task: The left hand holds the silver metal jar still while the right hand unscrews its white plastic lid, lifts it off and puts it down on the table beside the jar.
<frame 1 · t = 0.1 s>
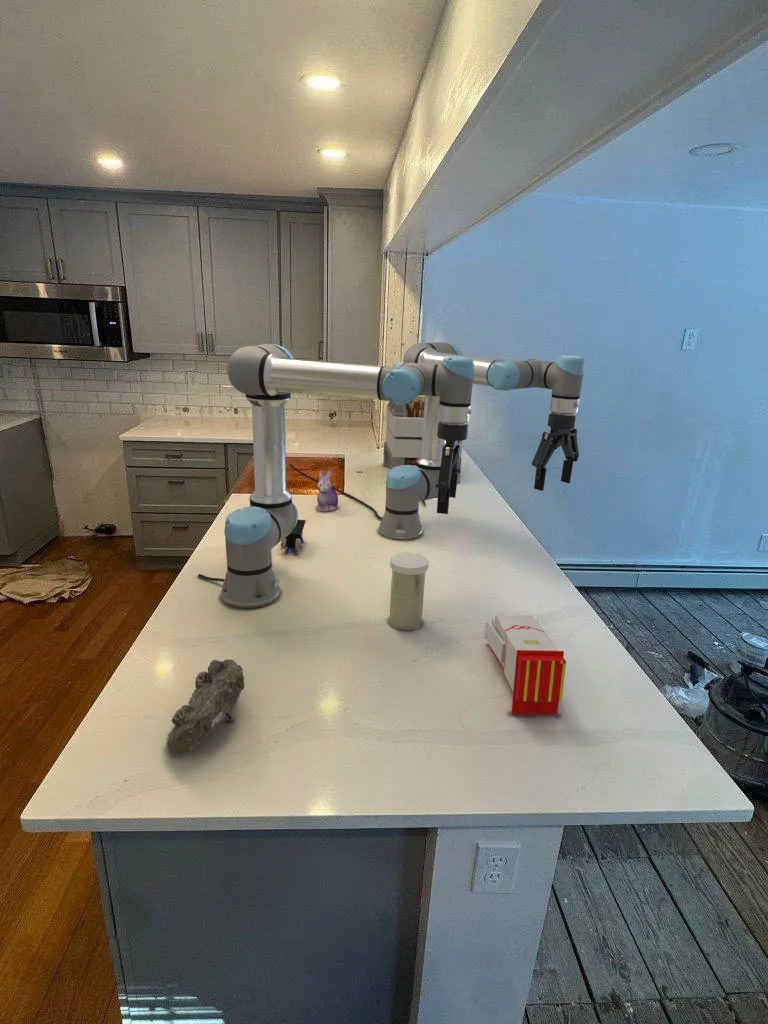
left hand: (446, 504, 145), 28 cm above the counter, tool pointing down, fingers open, 13 cm apart
right hand: (552, 485, 166), 28 cm above the counter, tool pointing down, fingers open, 13 cm apart
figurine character: (293, 547, 185), on the counter
fossil: (212, 717, 108), on the counter
figurine: (327, 508, 222), on the counter
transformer: (419, 473, 275), on the counter
feather: (423, 496, 241), on the counter
toy: (516, 673, 125), on the counter
lid: (409, 561, 138), point 17 cm above the counter, screwed on, not yet turned
jar: (405, 621, 144), on the counter
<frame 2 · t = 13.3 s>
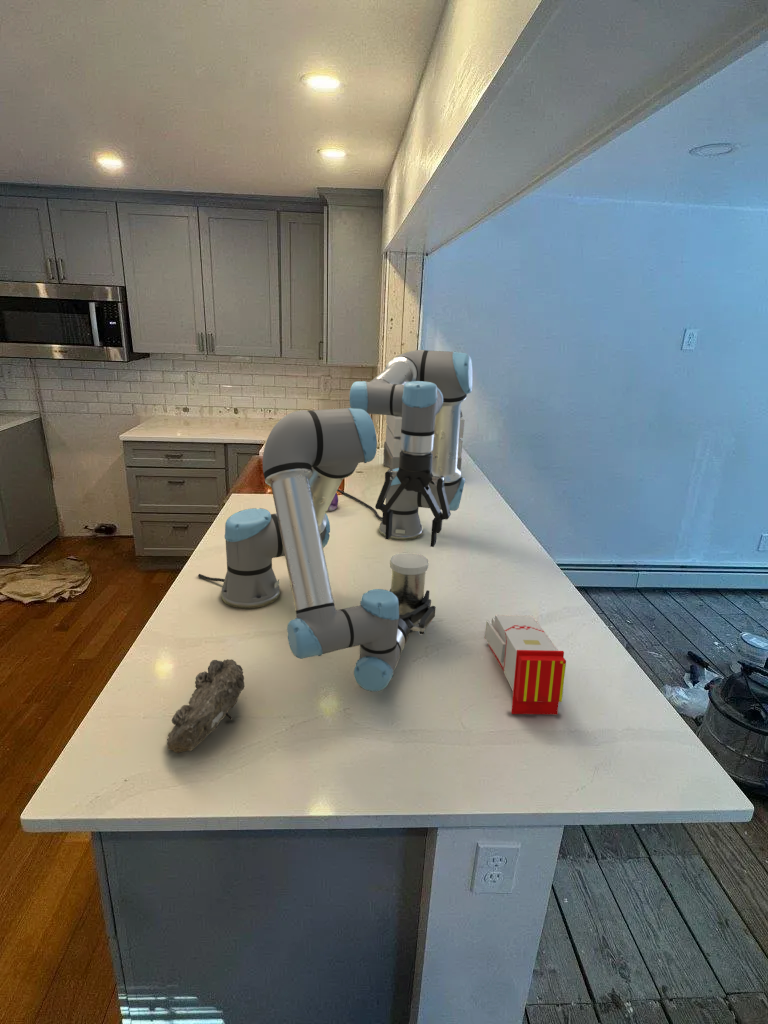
left hand: (410, 592, 146), 6 cm above the counter, tool horizontal, fingers closed on jar, 8 cm apart
right hand: (410, 541, 136), 22 cm above the counter, tool pointing down, fingers open, 10 cm apart
jar: (405, 621, 144), on the counter, touching left hand
everything else where it was.
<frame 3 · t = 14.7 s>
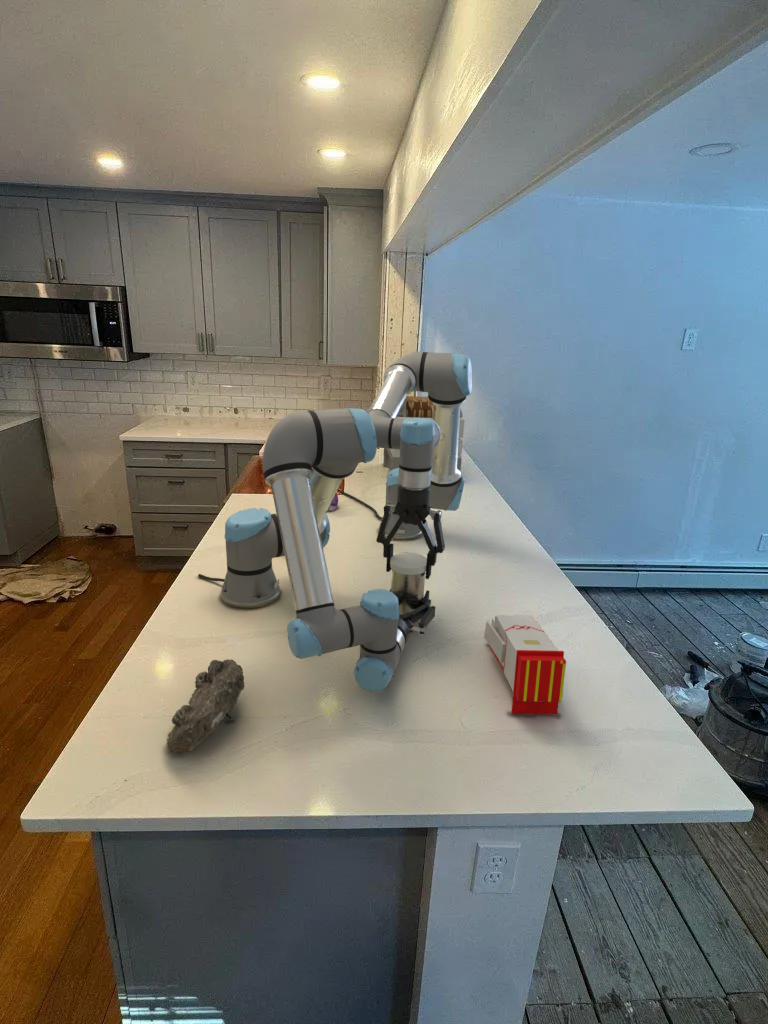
left hand: (410, 592, 146), 6 cm above the counter, tool horizontal, fingers closed on jar, 8 cm apart
right hand: (408, 573, 139), 14 cm above the counter, tool pointing down, fingers closed on lid, 9 cm apart
lid: (409, 561, 138), point 17 cm above the counter, screwed on, not yet turned, touching right hand
jar: (405, 621, 144), on the counter, touching left hand
everything else where it was.
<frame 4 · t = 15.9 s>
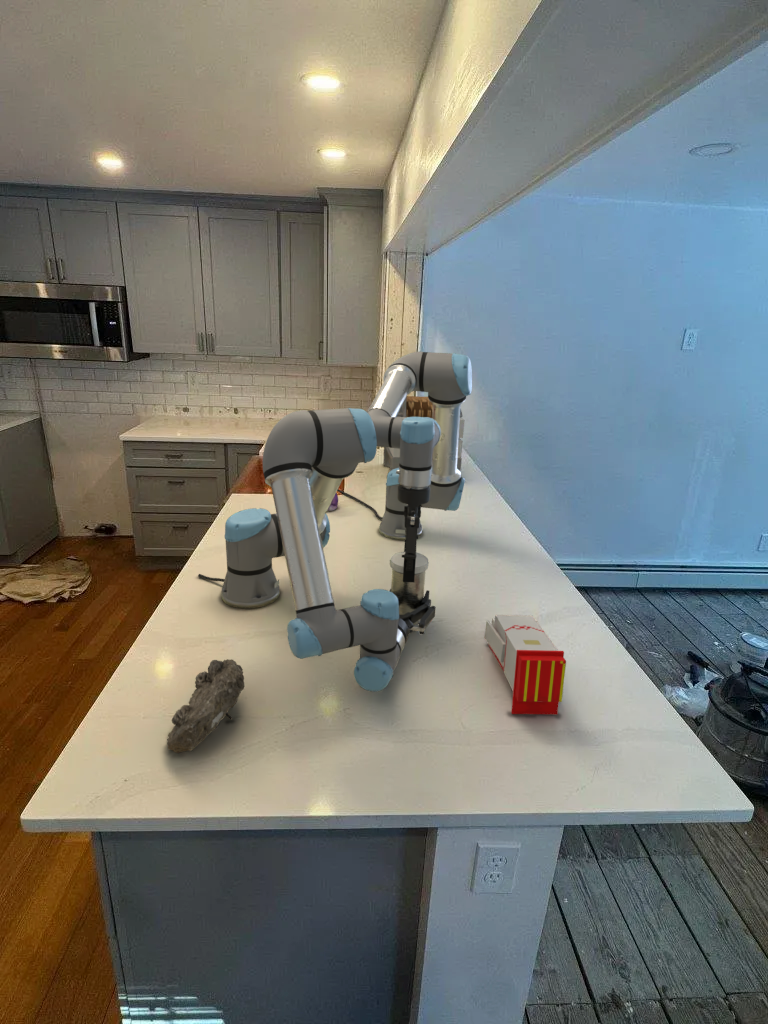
left hand: (410, 592, 146), 6 cm above the counter, tool horizontal, fingers closed on jar, 8 cm apart
right hand: (408, 572, 139), 14 cm above the counter, tool pointing down, fingers closed on lid, 9 cm apart
lid: (409, 560, 138), point 17 cm above the counter, off its thread, touching right hand
jar: (405, 621, 144), on the counter, touching left hand
everything else where it was.
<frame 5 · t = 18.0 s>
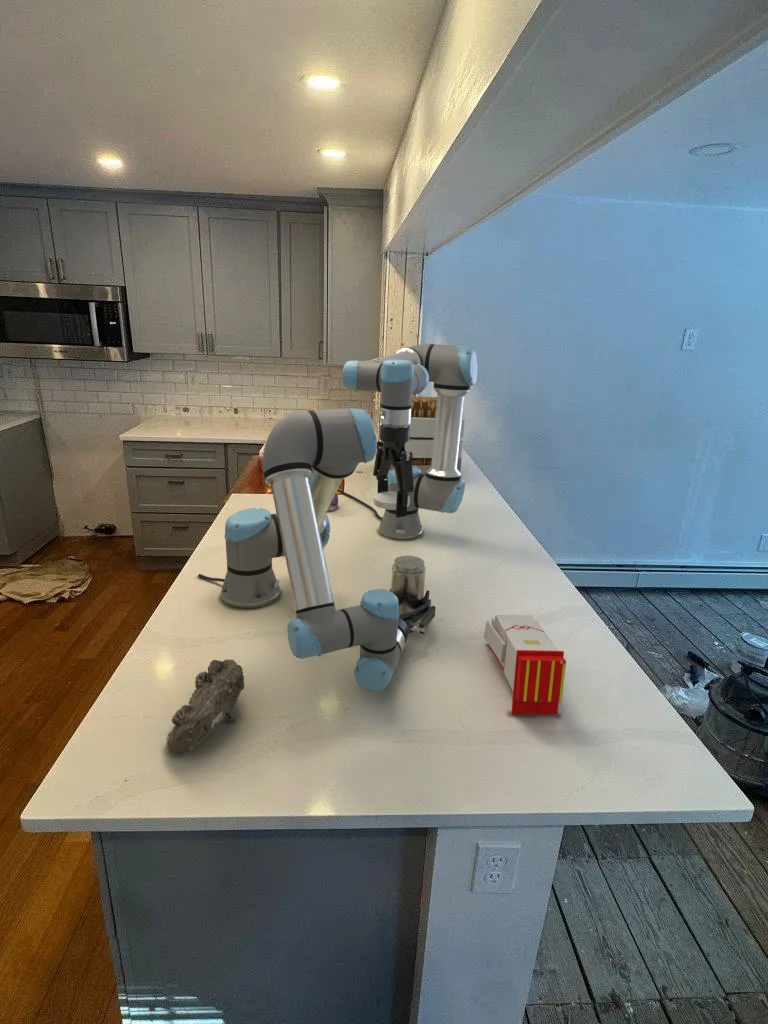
left hand: (410, 592, 146), 6 cm above the counter, tool horizontal, fingers closed on jar, 8 cm apart
right hand: (391, 509, 148), 25 cm above the counter, tool pointing down, fingers closed on lid, 9 cm apart
lid: (391, 498, 147), point 28 cm above the counter, off its thread, touching right hand
jar: (405, 621, 144), on the counter, touching left hand
everything else where it was.
when the right hand's fingers open (0 cm above the counter, at t = 22.1 s): lid drops 2 cm, point 1 cm above the counter.
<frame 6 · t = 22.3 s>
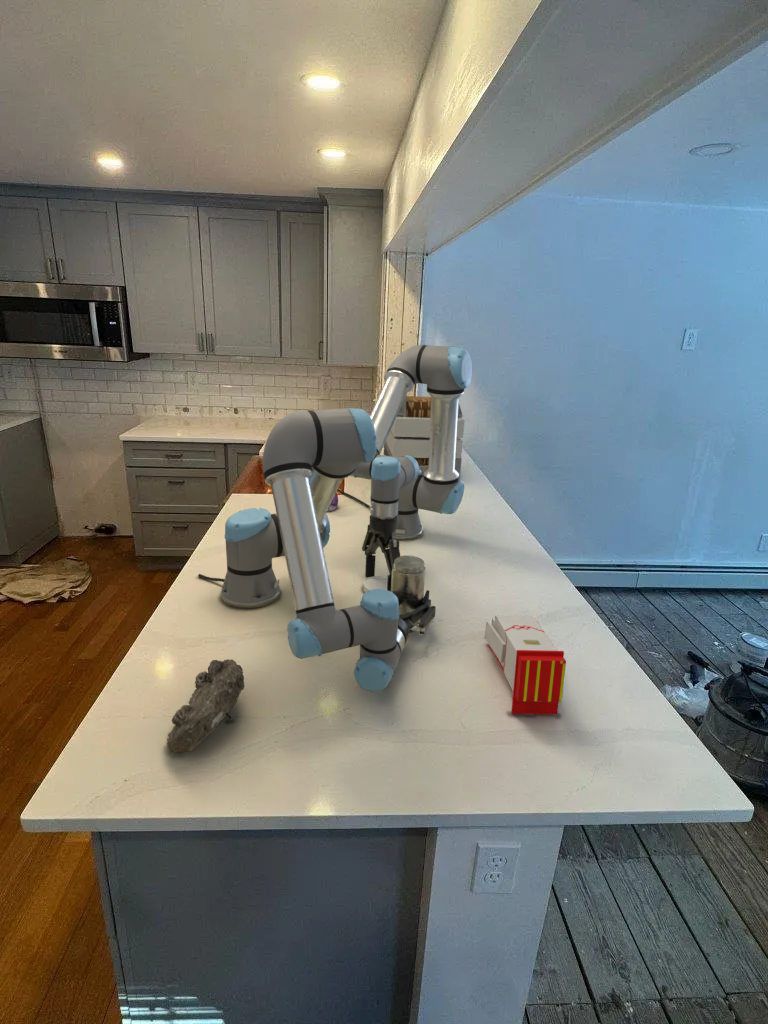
left hand: (410, 592, 146), 6 cm above the counter, tool horizontal, fingers closed on jar, 8 cm apart
right hand: (380, 586, 160), 1 cm above the counter, tool pointing down, fingers open, 12 cm apart
lid: (380, 585, 159), point 1 cm above the counter, off its thread
jar: (405, 621, 144), on the counter, touching left hand
everything else where it was.
when the left hand's fingers open (6 cm above the counter, at t = 23.1 s): jar stays where it is, on the counter.
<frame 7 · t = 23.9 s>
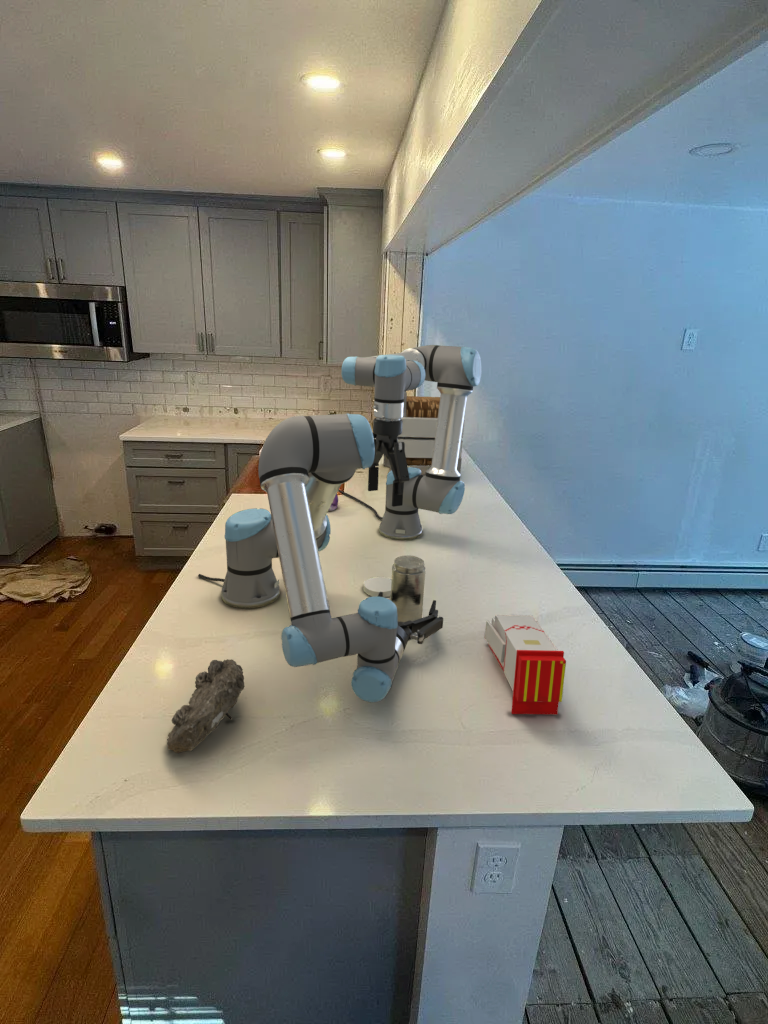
left hand: (407, 600, 142), 6 cm above the counter, tool horizontal, fingers open, 13 cm apart
right hand: (384, 497, 151), 27 cm above the counter, tool pointing down, fingers open, 13 cm apart
jar: (405, 621, 144), on the counter
everything else where it was.
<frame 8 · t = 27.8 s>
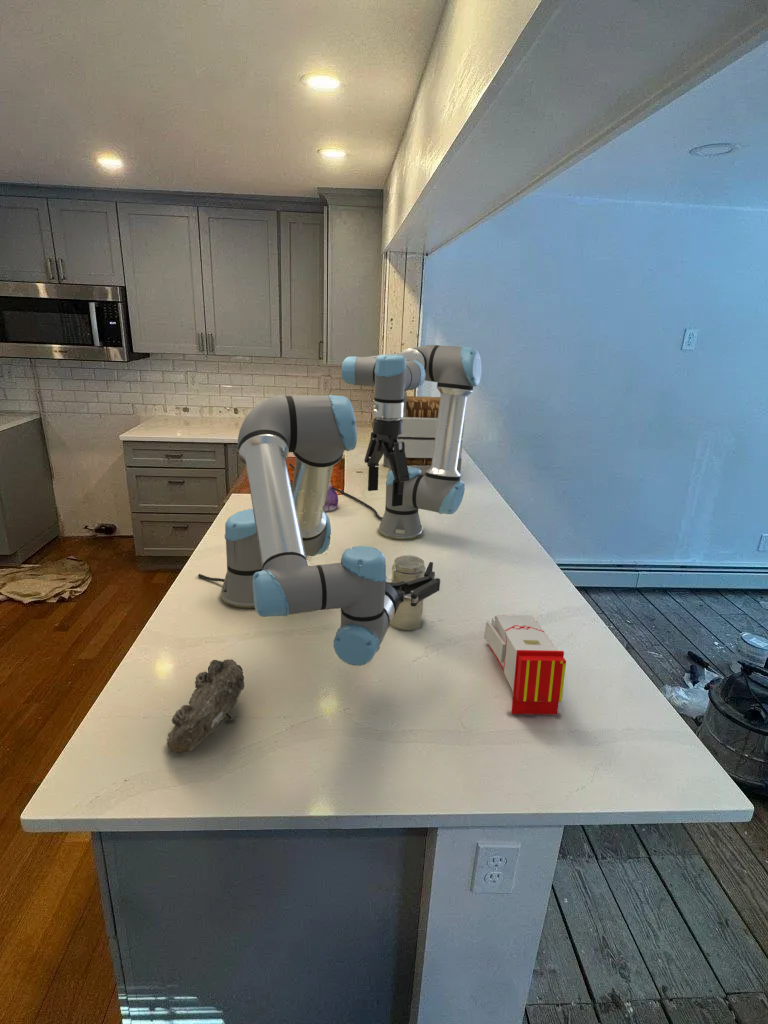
left hand: (401, 563, 128), 21 cm above the counter, tool horizontal, fingers open, 13 cm apart
right hand: (384, 497, 151), 27 cm above the counter, tool pointing down, fingers open, 13 cm apart
nothing on the counter moved.
at the end: lid came off its thread; lid point 1.4 cm above the counter; the left hand is holding nothing; the right hand is holding nothing; jar tilted 0°; jar moved 0.0 cm from its start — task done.
